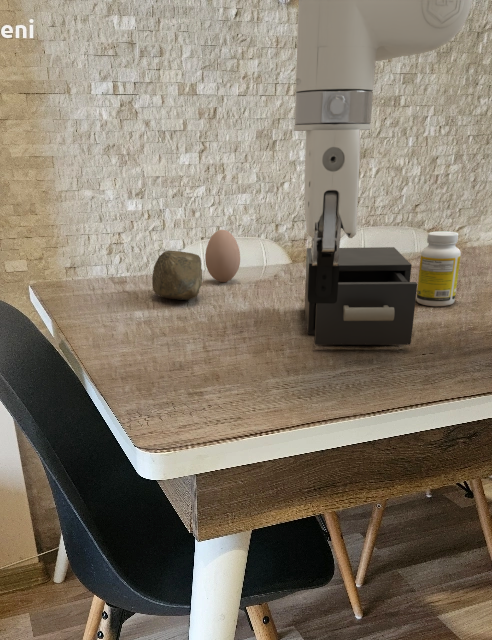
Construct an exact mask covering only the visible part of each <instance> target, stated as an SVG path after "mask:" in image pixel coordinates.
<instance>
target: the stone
mask: <svg viewBox="0 0 492 640" xmlns="http://www.w3.org/2000/svg"><path fill="white" fill-rule="evenodd" d="M151 279H152V282H151V283H152V284H151V285H152V290H153V292H154V293H155V294H156V295H157V296H159V297H161V298H165V299H168V300H178V301H179V300H183V301H184V300H191V299H194V298H197V296H198V295H199V293H200V289H201V287H202V284H203V283H202V282H203V269H202V259H201V256H200V255H199V254H196V253H193V252H186V251H179V250H166V251H164V252H162V253H161V254H160V255H159V256H158V257H157V260H156V262H155V264H154V266H153V271H152V276H151Z"/></svg>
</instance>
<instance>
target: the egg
mask: <svg viewBox="0 0 492 640" xmlns="http://www.w3.org/2000/svg"><path fill="white" fill-rule="evenodd" d="M204 256H205V259H204V260H205V267H206V270H207V272H208V274H209V275H210V276H211V277H212V278H213V279H214V280H215V281H217V282H219V283H226V282H227V283H228V282H229V281H232V279H234V277H235V276H236V274H237V273H238V271H239V269H240V266H241V250H240V247H239V244H238V242H237V240H236V238H235V236H234V235H233V234H232V233H231V232H230V231H229V230H226V229H218V230H216V231H215V232H214V233H213V234H212V235H211V237H210V238H209V240H208V243H207V244H206V249H205V255H204Z"/></svg>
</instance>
